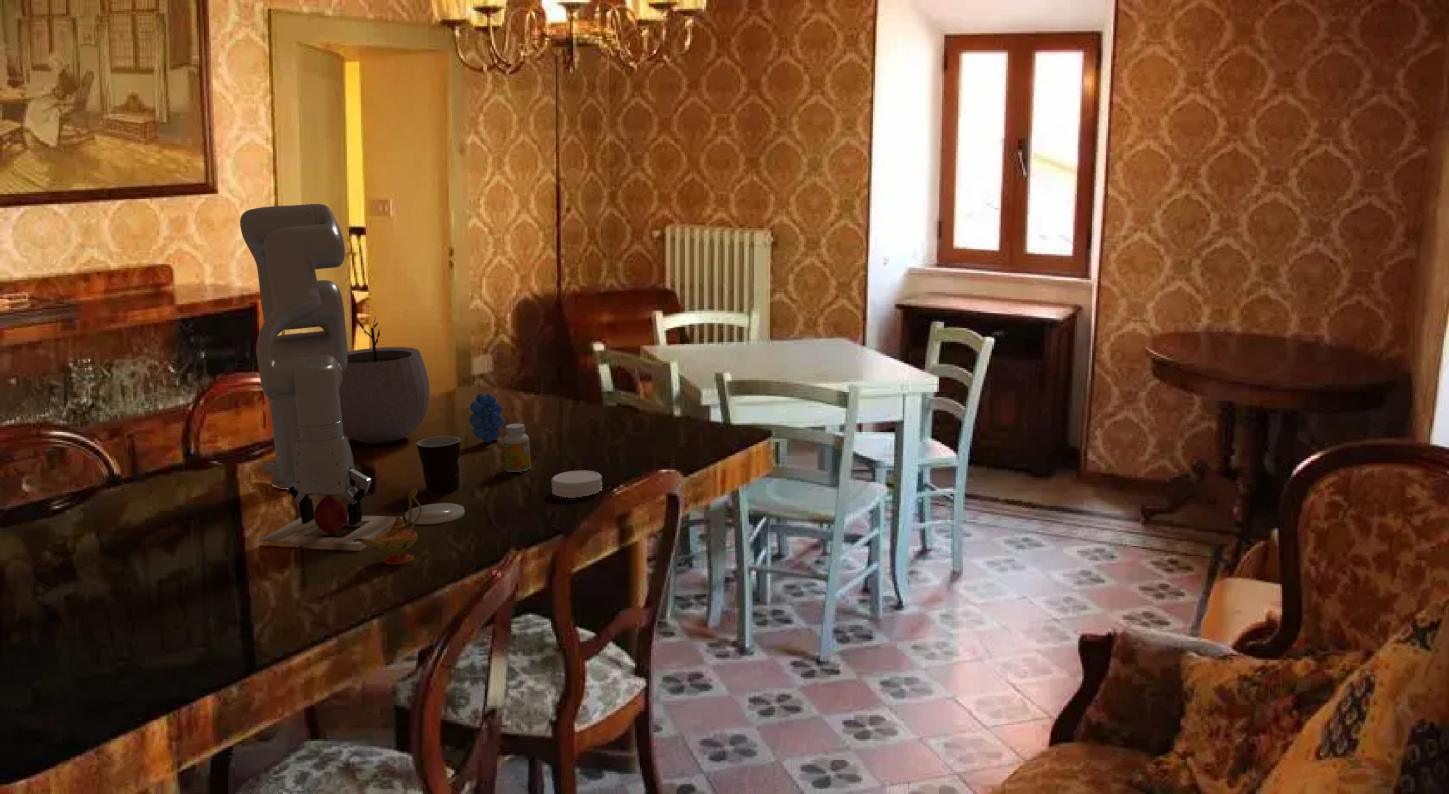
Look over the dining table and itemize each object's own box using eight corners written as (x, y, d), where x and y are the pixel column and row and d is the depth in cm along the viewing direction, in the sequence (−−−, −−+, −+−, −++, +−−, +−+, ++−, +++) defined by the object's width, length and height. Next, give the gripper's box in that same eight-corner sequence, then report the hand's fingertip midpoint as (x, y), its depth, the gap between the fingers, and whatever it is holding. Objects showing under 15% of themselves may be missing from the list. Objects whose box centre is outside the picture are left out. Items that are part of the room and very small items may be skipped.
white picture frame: (259, 546, 236) (259, 540, 236) (308, 519, 251) (307, 513, 251) (360, 550, 231) (359, 544, 231) (403, 523, 246) (402, 516, 246)
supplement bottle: (500, 472, 279) (497, 428, 277) (514, 465, 284) (510, 422, 281) (522, 474, 277) (519, 429, 275) (535, 467, 282) (532, 423, 279)
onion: (320, 541, 237) (315, 499, 235) (313, 533, 242) (309, 491, 240) (352, 535, 240) (348, 493, 238) (345, 527, 245) (341, 486, 243)
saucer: (394, 523, 246) (394, 518, 246) (422, 506, 256) (421, 501, 256) (448, 525, 243) (448, 520, 243) (474, 508, 253) (473, 503, 253)
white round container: (613, 491, 261) (612, 474, 261) (575, 503, 254) (573, 486, 254) (580, 483, 268) (578, 467, 267) (542, 495, 261) (540, 478, 260)
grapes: (488, 450, 298) (484, 398, 296) (464, 448, 301) (460, 397, 299) (518, 438, 309) (514, 388, 306) (494, 436, 311) (490, 386, 309)
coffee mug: (454, 495, 263) (450, 446, 261) (414, 494, 265) (409, 446, 263) (476, 479, 274) (472, 432, 272) (438, 479, 276) (433, 432, 274)
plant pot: (450, 429, 321) (439, 307, 314) (406, 454, 298) (393, 323, 291) (361, 428, 326) (348, 308, 320) (310, 453, 303) (295, 324, 297)
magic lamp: (341, 578, 217) (334, 514, 215) (408, 544, 233) (402, 484, 231) (374, 582, 214) (368, 517, 212) (440, 547, 230) (435, 487, 228)
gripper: (267, 435, 235) (278, 527, 239) (354, 437, 231) (364, 530, 235) (290, 426, 242) (301, 515, 246) (375, 427, 238) (384, 517, 242)
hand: (331, 522), depth 240 cm, fingers open, 9 cm apart
